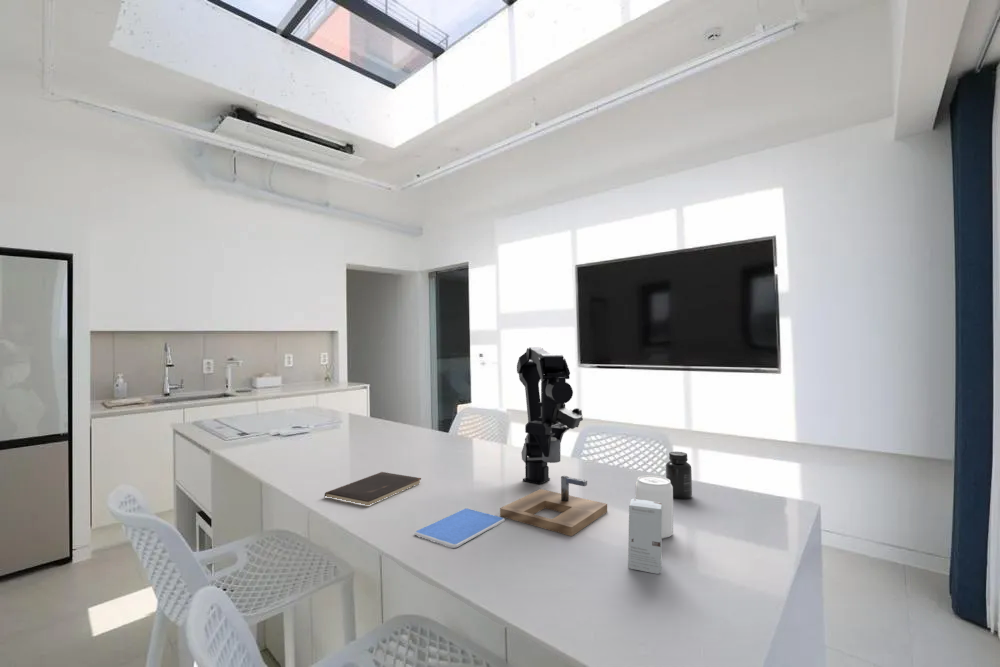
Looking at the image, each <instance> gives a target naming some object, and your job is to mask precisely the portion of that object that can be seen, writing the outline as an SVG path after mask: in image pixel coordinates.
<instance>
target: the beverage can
mask: <svg viewBox="0 0 1000 667" xmlns="http://www.w3.org/2000/svg"><path fill="white" fill-rule="evenodd" d="M634 496H635V498H634V499H638V500H648V501H653V502H659V503H662V539H667V538H669V537H671V536H672V535H673V534H674V498H673V487H672V485H671V483H670V480H669V479H667V478H666V477H664V476H660V475H653V474H652V475H647V474H646V475H640V476H638V477H637V480H636V482H635V493H634Z"/></svg>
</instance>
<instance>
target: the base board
mask: <svg viewBox="0 0 1000 667" xmlns="http://www.w3.org/2000/svg"><path fill="white" fill-rule="evenodd" d="M544 509H546V510H550V511H554V512H558V513H559V515H557V516H555V517H553V518H550V517H546V516H541V515H537V514H538V513H539V512H541V511H543V510H544ZM607 512H608V503H606V502H600V501H596V500H592V499H588V498H587V499H586V498H584V497H583V498H582V497H577V496H573V495H570V494H569V501H562V500H561V492H555V491H551V490H547V489H541V488H540V489H537V490H535V491H533V492H532V493H529V494H527V495H525V496H523V497H521V498H519V499H517V500H516V499H515V500H514V501H512V502H509V503H508V504H506V505H504V506H502V507H499V517H502V518H504V519H505V518H506V519H508V520H513V521H515V522H518V523H519V522H520V523H523V524H527V525H531V526H534V527H538V528H540V529H544V530H548V531H550V532H551V531H552V532H554V533H558V534H562V535H566V536H570V537H573V536H575V535H576V534H577V533H579V532H580V531H582V530H583V529H584V528H586V527H587V526H589V525H590V524H592V523H593V522H594V521H596V520H597V519H599V518H600V517H602V516H603V515H605V514H606V513H607Z"/></svg>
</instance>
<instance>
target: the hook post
mask: <svg viewBox="0 0 1000 667" xmlns="http://www.w3.org/2000/svg"><path fill="white" fill-rule="evenodd" d="M569 484H571V485H575V486H579V487H580V486H581V487H586V486H588V480H587V479H582V478H576V477H571V476H567V475H562V476H561V477H560V493H561V500H562V501H569V495H570V485H569Z"/></svg>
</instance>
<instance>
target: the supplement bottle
mask: <svg viewBox="0 0 1000 667" xmlns="http://www.w3.org/2000/svg"><path fill="white" fill-rule="evenodd" d="M668 460H669V461H667V463H666V465H665V478H667V479H669V480H670V483H671V485H672V487H673V499H676V500H689V499H691V498H692V497H693V477H692V476H693V474H692V473H693V472H692V470H693V469H692V464H690V463H689V462H687V461H689V459H688V453H686V452H683V451H670V452H669V457H668Z"/></svg>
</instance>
